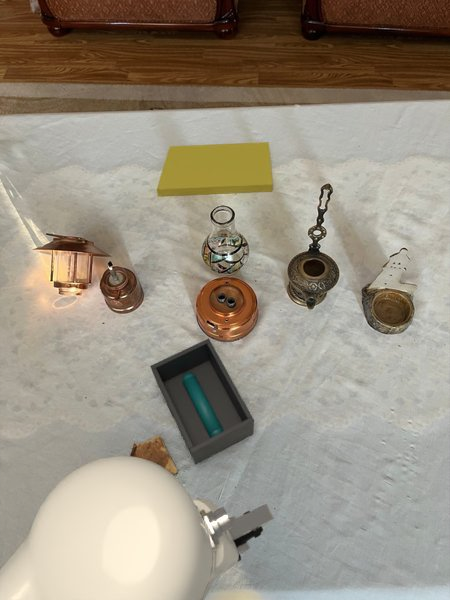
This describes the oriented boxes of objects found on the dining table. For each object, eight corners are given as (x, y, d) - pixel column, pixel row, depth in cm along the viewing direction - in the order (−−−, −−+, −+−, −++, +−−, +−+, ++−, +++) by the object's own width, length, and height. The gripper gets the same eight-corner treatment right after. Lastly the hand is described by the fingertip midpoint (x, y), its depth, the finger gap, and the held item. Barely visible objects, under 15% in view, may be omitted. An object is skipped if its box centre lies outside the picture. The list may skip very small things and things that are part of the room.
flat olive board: (268, 149, 116) (160, 154, 116) (268, 142, 114) (158, 146, 114) (272, 191, 110) (158, 196, 110) (272, 184, 108) (156, 189, 108)
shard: (116, 511, 80) (114, 509, 78) (97, 466, 83) (94, 464, 82) (179, 474, 82) (178, 472, 81) (158, 432, 85) (157, 429, 84)
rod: (181, 379, 89) (178, 375, 87) (194, 372, 90) (191, 368, 88) (214, 444, 84) (211, 441, 82) (227, 436, 84) (225, 433, 82)
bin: (253, 434, 85) (254, 420, 78) (195, 464, 83) (191, 453, 76) (211, 356, 92) (208, 338, 85) (156, 382, 90) (150, 365, 83)
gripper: (248, 439, 35) (247, 486, 50) (-3, 571, 32) (76, 579, 47) (307, 548, 32) (287, 564, 47) (33, 709, 28) (105, 671, 43)
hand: (181, 571), depth 47 cm, fingers open, 9 cm apart
